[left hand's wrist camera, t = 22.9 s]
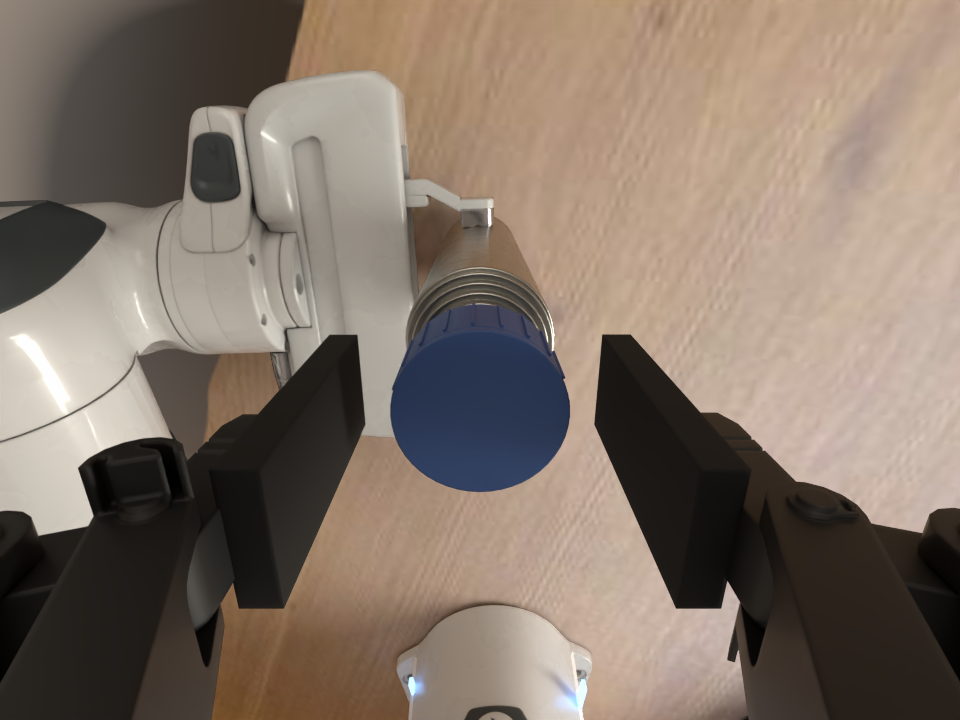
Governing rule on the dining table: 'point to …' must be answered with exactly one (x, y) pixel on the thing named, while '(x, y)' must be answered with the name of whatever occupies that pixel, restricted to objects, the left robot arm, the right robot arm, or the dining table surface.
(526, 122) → the dining table surface
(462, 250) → the bottle
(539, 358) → the cap
